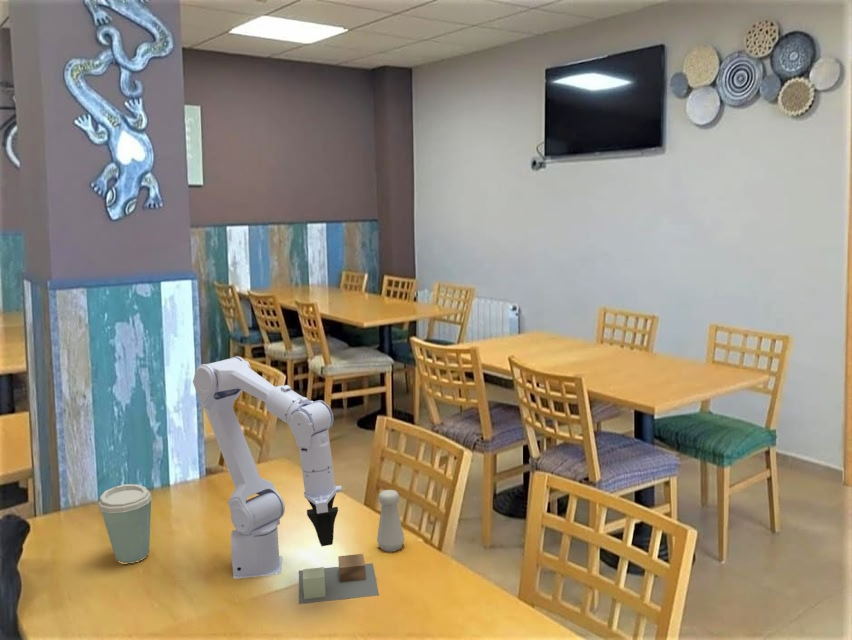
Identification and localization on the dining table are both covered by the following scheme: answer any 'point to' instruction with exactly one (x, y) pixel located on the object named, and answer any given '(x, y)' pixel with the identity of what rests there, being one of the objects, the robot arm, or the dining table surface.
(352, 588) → the slate mat
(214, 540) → the dining table surface
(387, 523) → the salt shaker
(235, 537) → the robot arm
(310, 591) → the sage block
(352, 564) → the walnut block
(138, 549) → the disposable coffee cup
